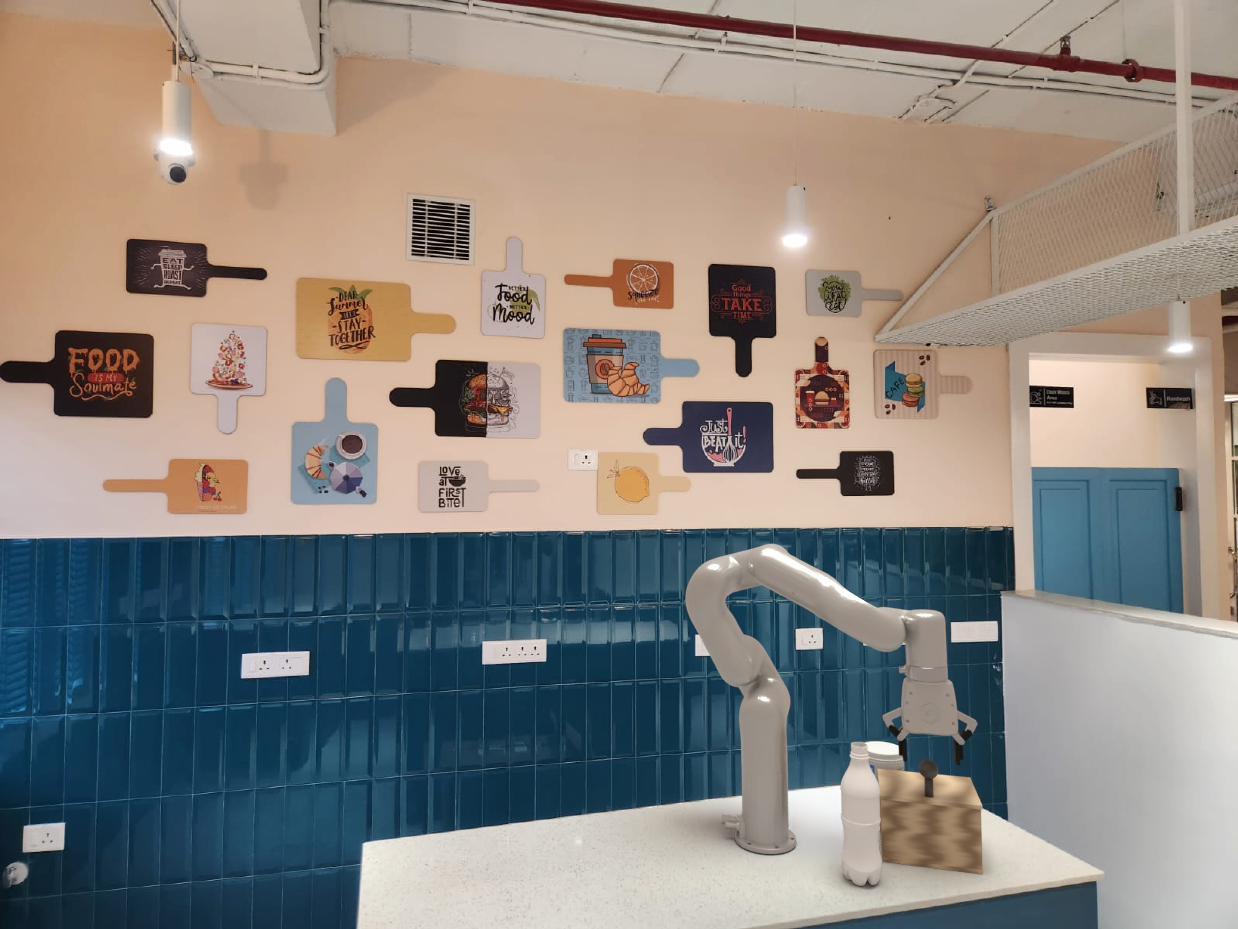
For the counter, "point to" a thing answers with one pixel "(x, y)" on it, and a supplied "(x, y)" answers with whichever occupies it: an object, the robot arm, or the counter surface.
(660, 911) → the counter surface
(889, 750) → the supplement tub
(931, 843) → the wooden box
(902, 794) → the lid
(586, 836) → the counter surface
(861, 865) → the water bottle
